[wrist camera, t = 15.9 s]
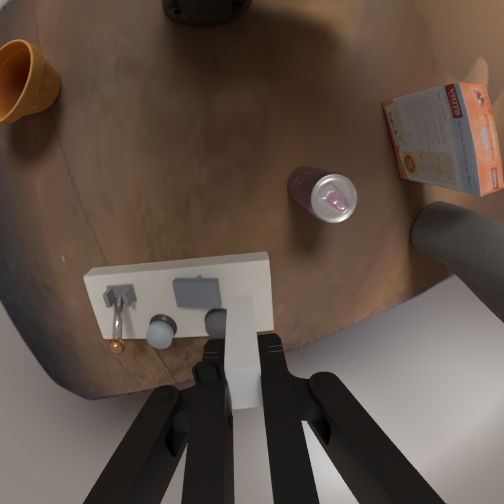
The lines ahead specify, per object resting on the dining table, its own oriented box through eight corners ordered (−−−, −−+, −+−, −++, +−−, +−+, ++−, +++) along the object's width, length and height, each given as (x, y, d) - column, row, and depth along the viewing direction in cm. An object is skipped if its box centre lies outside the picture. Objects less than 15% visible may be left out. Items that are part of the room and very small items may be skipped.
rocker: (175, 278, 44) (171, 281, 43) (218, 277, 43) (215, 282, 42) (180, 302, 46) (177, 307, 45) (221, 303, 45) (219, 308, 43)
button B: (146, 321, 46) (142, 327, 44) (170, 320, 46) (168, 326, 44) (152, 342, 47) (149, 349, 45) (176, 341, 47) (174, 348, 45)
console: (92, 268, 48) (75, 283, 42) (266, 251, 49) (271, 266, 42) (110, 327, 52) (98, 347, 46) (271, 318, 53) (275, 340, 46)
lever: (110, 292, 44) (105, 351, 39) (123, 291, 44) (120, 352, 39) (116, 298, 46) (113, 355, 41) (129, 297, 46) (127, 355, 41)
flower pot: (82, 96, 38) (40, 84, 26) (29, 140, 39) (-16, 143, 27) (63, 42, 34) (25, 22, 21) (13, 86, 35) (-28, 79, 23)
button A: (204, 311, 47) (203, 317, 45) (230, 308, 47) (230, 315, 45) (208, 332, 49) (207, 339, 47) (233, 330, 49) (233, 337, 47)
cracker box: (424, 172, 45) (506, 190, 26) (398, 178, 46) (480, 199, 26) (407, 98, 41) (487, 82, 21) (380, 101, 41) (458, 81, 21)
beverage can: (309, 210, 47) (338, 234, 33) (279, 189, 46) (298, 205, 31) (329, 181, 46) (368, 193, 31) (301, 159, 44) (330, 161, 30)
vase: (399, 258, 51) (506, 346, 22) (407, 194, 47) (538, 245, 18) (445, 256, 51) (546, 327, 23) (453, 198, 47) (571, 244, 19)
